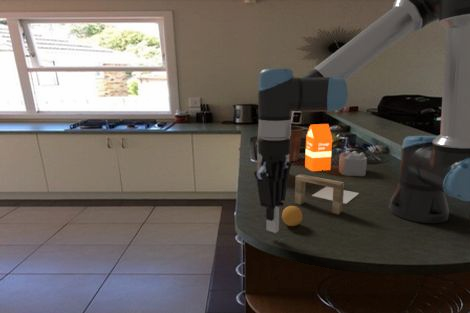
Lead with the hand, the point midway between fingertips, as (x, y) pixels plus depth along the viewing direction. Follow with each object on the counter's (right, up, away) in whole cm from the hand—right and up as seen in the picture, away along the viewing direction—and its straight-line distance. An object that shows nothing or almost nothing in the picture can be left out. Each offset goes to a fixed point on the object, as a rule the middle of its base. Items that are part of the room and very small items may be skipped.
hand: (272, 230), depth 79 cm
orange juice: (+28, +13, +64) cm, 71 cm away
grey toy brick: (+41, +12, +58) cm, 72 cm away
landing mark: (+25, +5, +30) cm, 40 cm away
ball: (+6, +2, +7) cm, 10 cm away
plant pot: (+17, +17, +81) cm, 85 cm away
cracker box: (+7, +10, +53) cm, 55 cm away
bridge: (+16, +3, +20) cm, 26 cm away
